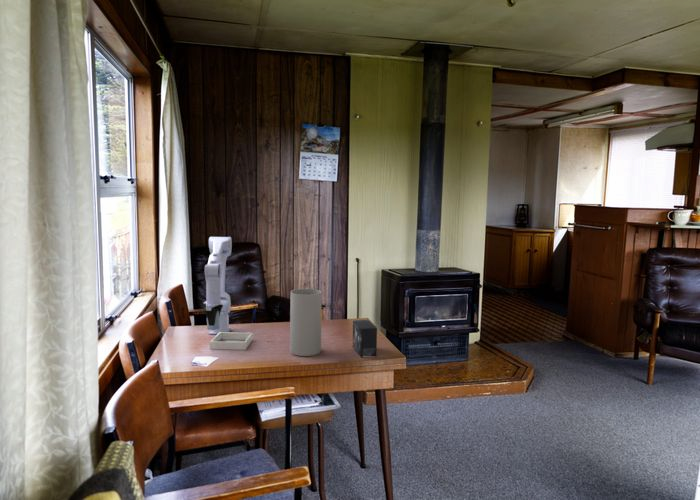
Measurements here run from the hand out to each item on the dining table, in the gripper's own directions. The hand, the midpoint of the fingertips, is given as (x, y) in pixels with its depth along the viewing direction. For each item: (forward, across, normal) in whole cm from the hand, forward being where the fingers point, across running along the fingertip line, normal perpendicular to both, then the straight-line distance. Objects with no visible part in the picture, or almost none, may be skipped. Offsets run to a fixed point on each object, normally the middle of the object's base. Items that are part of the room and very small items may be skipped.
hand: (213, 323), depth 209 cm
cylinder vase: (+9, +7, +40) cm, 41 cm away
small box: (+9, +5, +64) cm, 64 cm away
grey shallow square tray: (+9, -1, +8) cm, 12 cm away
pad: (+9, -1, +8) cm, 12 cm away
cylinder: (+2, 0, 0) cm, 2 cm away
